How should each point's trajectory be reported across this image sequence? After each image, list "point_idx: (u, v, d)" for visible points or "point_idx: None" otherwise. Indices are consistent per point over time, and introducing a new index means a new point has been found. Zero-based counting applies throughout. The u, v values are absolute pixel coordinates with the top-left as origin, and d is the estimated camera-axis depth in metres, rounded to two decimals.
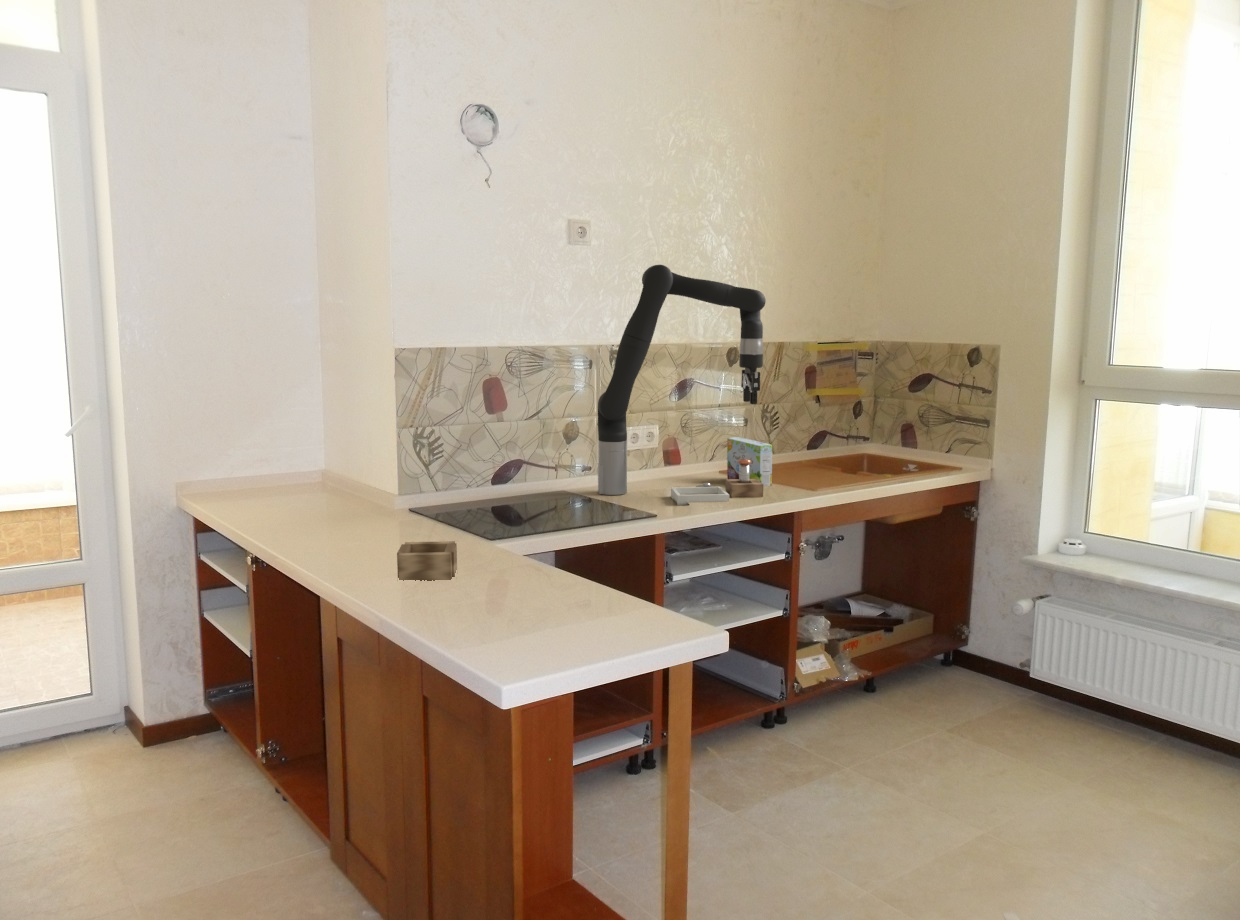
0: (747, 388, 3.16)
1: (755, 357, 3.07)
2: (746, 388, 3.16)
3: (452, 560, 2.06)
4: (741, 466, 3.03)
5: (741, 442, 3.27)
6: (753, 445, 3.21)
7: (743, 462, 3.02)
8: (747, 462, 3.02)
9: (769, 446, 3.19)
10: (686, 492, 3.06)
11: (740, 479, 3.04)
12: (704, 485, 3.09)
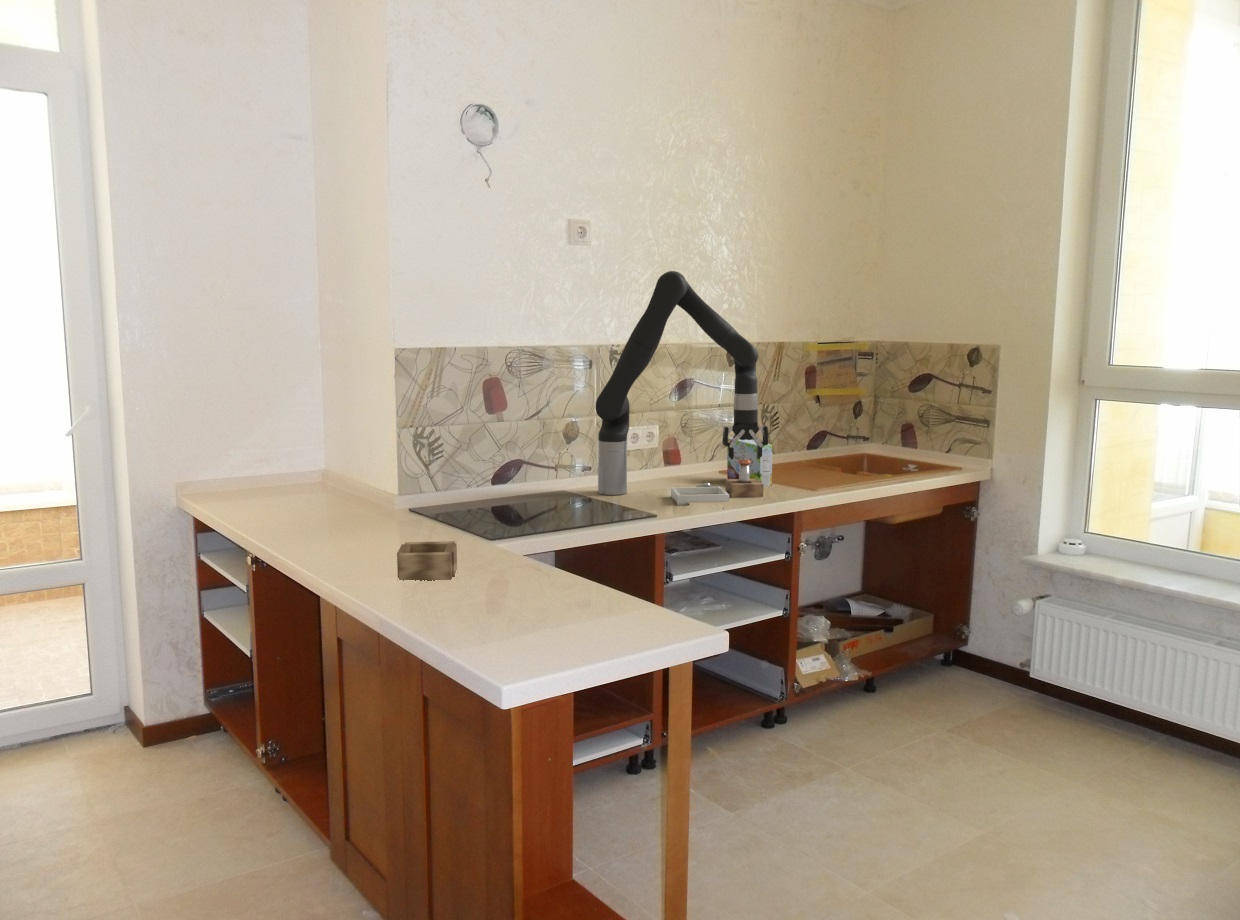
0: None
1: None
2: None
3: (452, 560, 2.06)
4: (741, 466, 3.03)
5: (741, 442, 3.27)
6: (753, 445, 3.21)
7: (743, 462, 3.02)
8: (747, 462, 3.02)
9: (769, 446, 3.19)
10: (686, 492, 3.06)
11: (740, 479, 3.04)
12: (704, 485, 3.09)
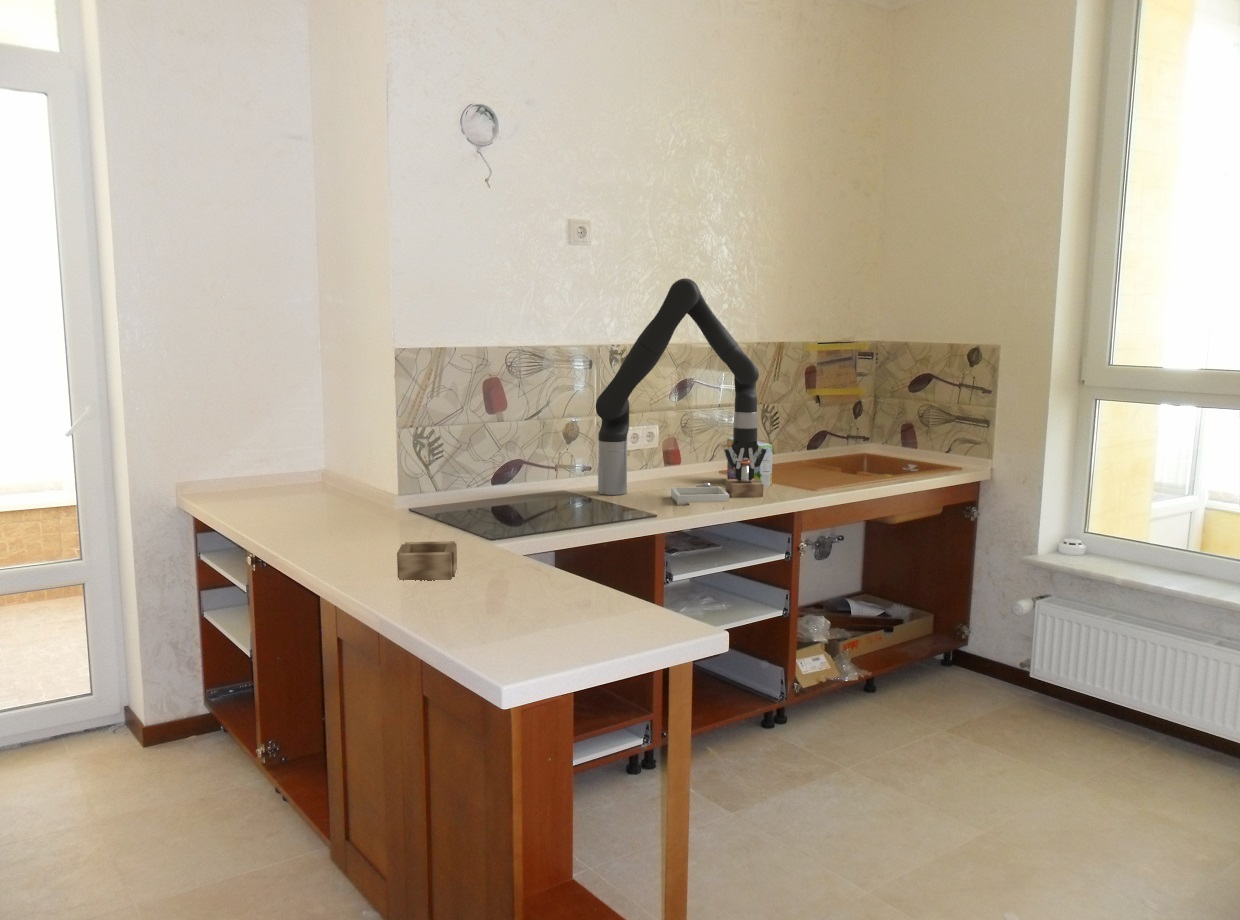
0: None
1: None
2: None
3: (452, 560, 2.06)
4: (741, 466, 3.03)
5: None
6: None
7: (743, 462, 3.02)
8: (747, 462, 3.02)
9: (769, 446, 3.19)
10: (686, 492, 3.06)
11: (740, 479, 3.04)
12: (704, 485, 3.09)
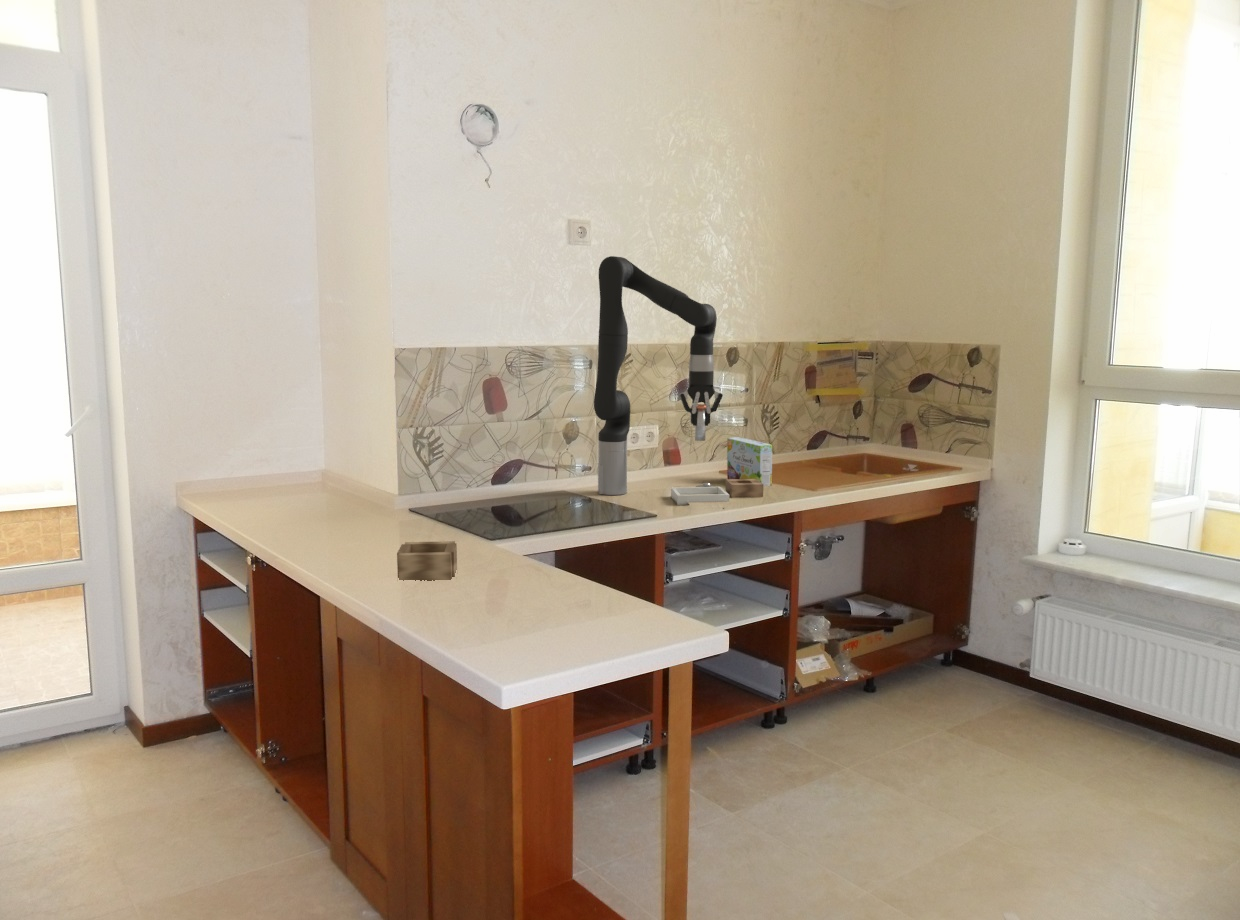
0: None
1: None
2: None
3: (452, 560, 2.06)
4: (697, 411, 2.95)
5: (741, 442, 3.27)
6: (753, 445, 3.21)
7: (699, 407, 2.94)
8: (703, 407, 2.94)
9: (769, 446, 3.19)
10: (686, 492, 3.06)
11: (696, 424, 2.96)
12: (704, 485, 3.09)
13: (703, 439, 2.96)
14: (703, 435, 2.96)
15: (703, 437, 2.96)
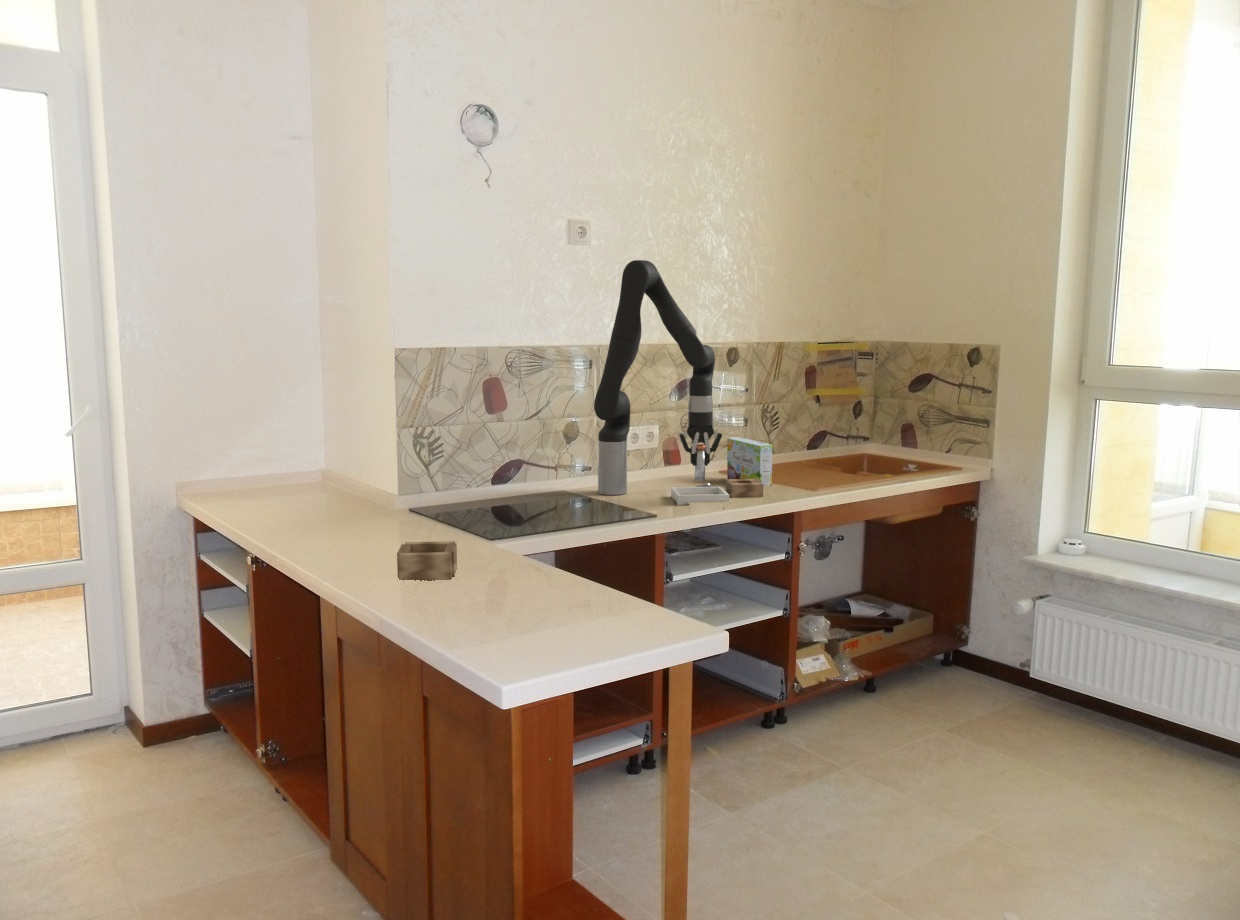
0: None
1: None
2: (694, 451, 2.97)
3: (452, 560, 2.06)
4: (696, 451, 2.97)
5: (741, 442, 3.27)
6: (753, 445, 3.21)
7: (698, 447, 2.96)
8: (702, 447, 2.96)
9: (769, 446, 3.19)
10: (686, 492, 3.06)
11: (696, 464, 2.98)
12: (704, 485, 3.09)
13: (703, 479, 2.98)
14: (703, 475, 2.98)
15: (703, 477, 2.98)
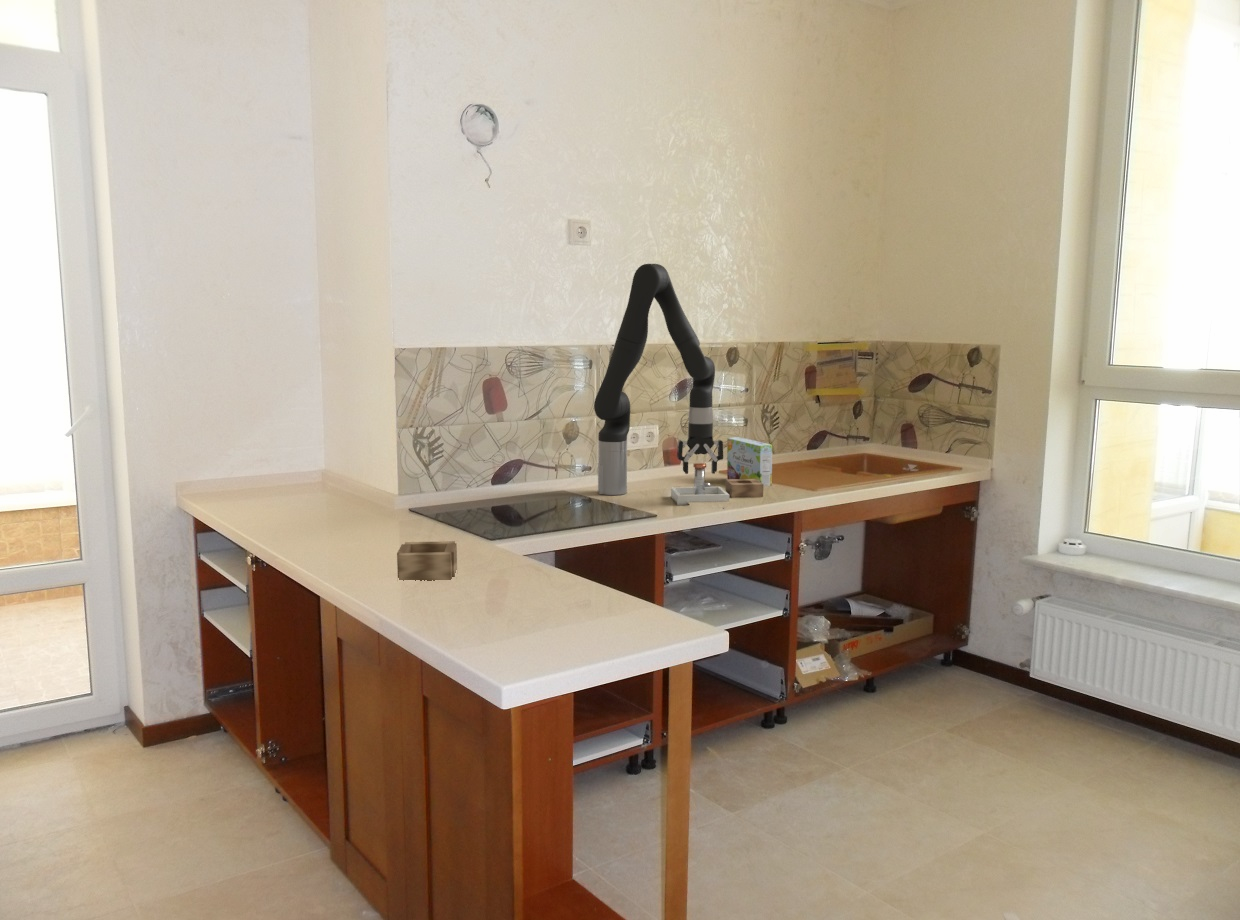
0: None
1: None
2: None
3: (452, 560, 2.06)
4: (696, 470, 2.98)
5: (741, 442, 3.27)
6: (753, 445, 3.21)
7: (698, 466, 2.97)
8: (702, 466, 2.97)
9: (769, 446, 3.19)
10: (686, 492, 3.06)
11: (695, 483, 2.99)
12: None
13: None
14: (702, 494, 2.99)
15: None
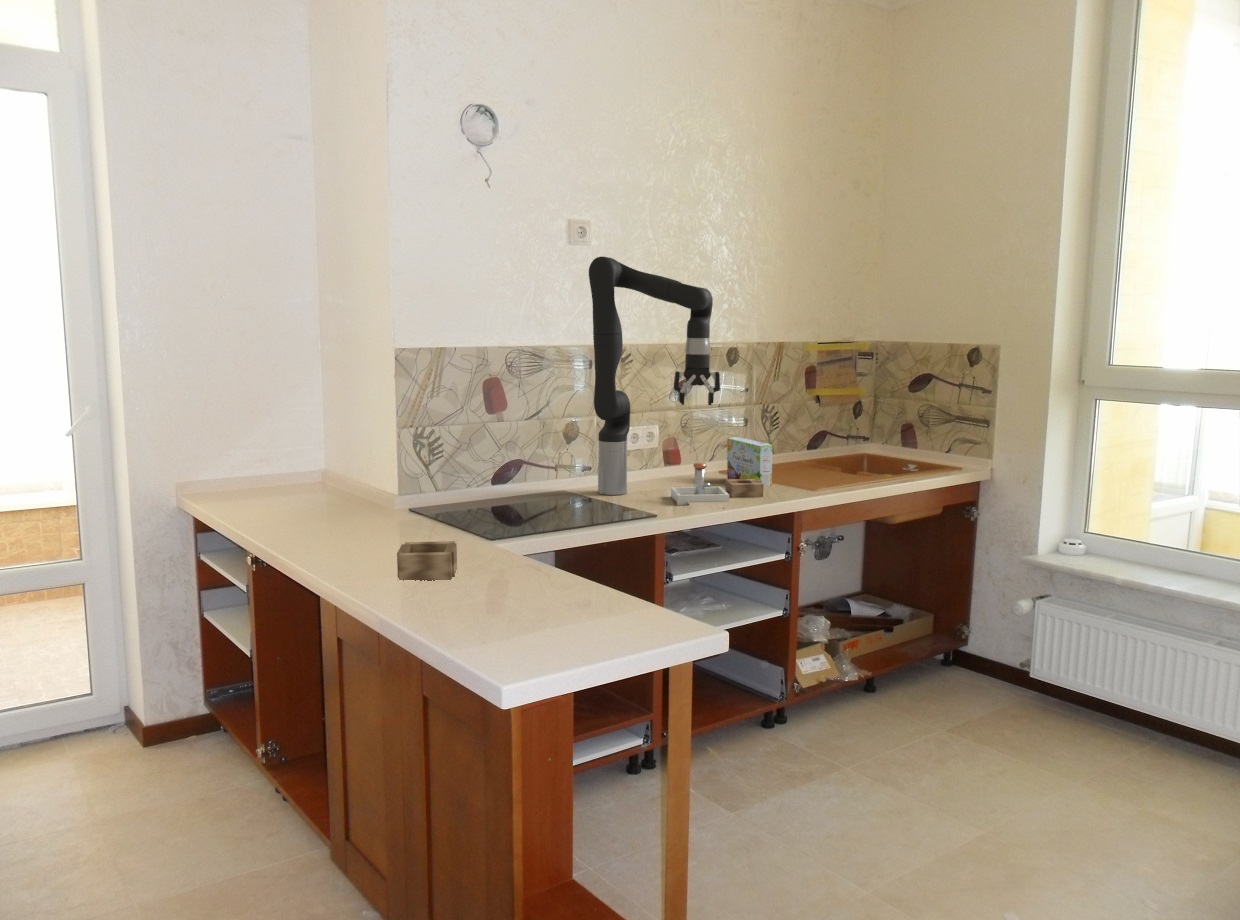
0: None
1: None
2: (683, 390, 2.99)
3: (452, 560, 2.06)
4: (696, 470, 2.98)
5: (741, 442, 3.27)
6: (753, 445, 3.21)
7: (698, 466, 2.97)
8: (702, 466, 2.97)
9: (769, 446, 3.19)
10: (686, 492, 3.06)
11: (695, 483, 2.99)
12: None
13: None
14: (702, 494, 2.99)
15: None
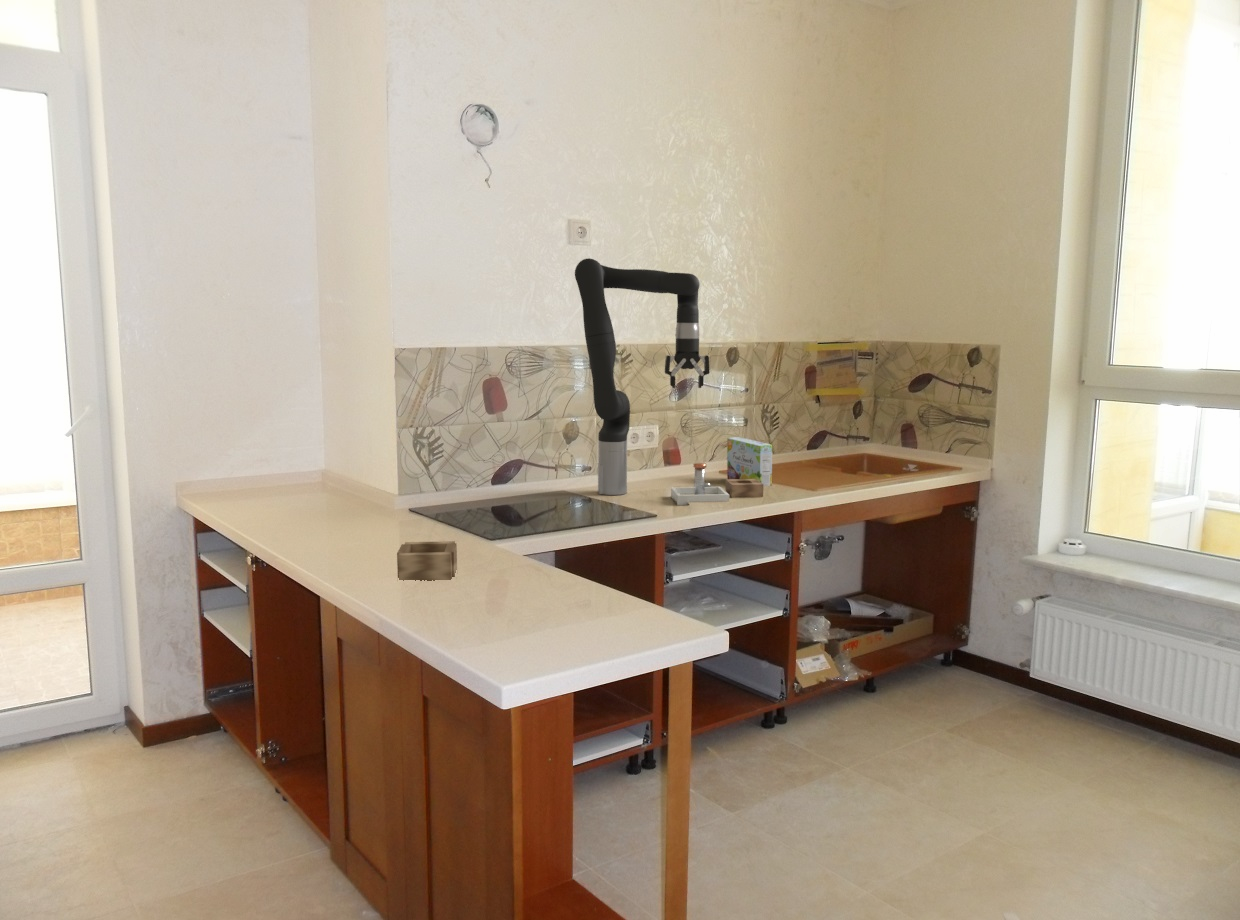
0: None
1: None
2: None
3: (452, 560, 2.06)
4: (696, 470, 2.98)
5: (741, 442, 3.27)
6: (753, 445, 3.21)
7: (698, 466, 2.97)
8: (702, 466, 2.97)
9: (769, 446, 3.19)
10: (686, 492, 3.06)
11: (695, 483, 2.99)
12: None
13: None
14: (702, 494, 2.99)
15: None
